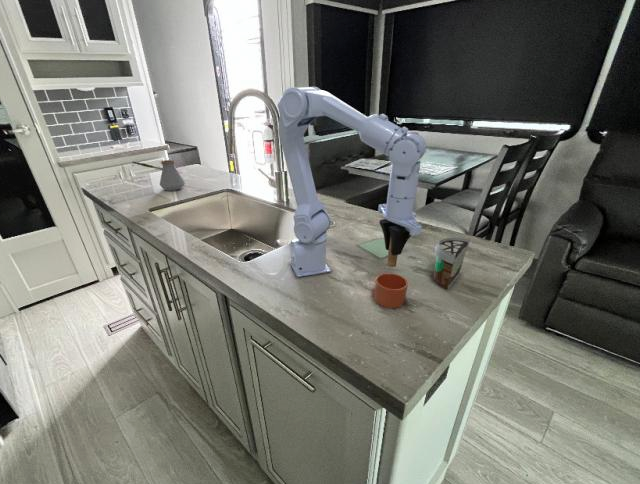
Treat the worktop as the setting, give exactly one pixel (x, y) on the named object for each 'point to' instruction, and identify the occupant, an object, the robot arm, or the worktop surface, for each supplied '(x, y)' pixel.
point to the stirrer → (391, 257)
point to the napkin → (376, 247)
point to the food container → (449, 260)
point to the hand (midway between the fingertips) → (393, 251)
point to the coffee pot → (168, 175)
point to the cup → (390, 290)
